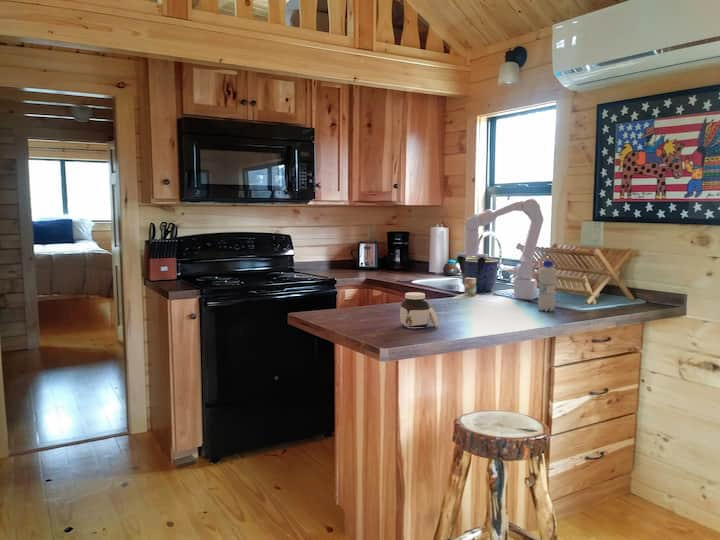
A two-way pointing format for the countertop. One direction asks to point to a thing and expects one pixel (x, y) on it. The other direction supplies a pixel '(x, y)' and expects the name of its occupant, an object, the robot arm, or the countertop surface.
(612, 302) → the countertop surface
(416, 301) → the spread jar
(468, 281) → the maple cube
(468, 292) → the sage base cube
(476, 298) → the white rectangular panel
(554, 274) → the bottle
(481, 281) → the planter
